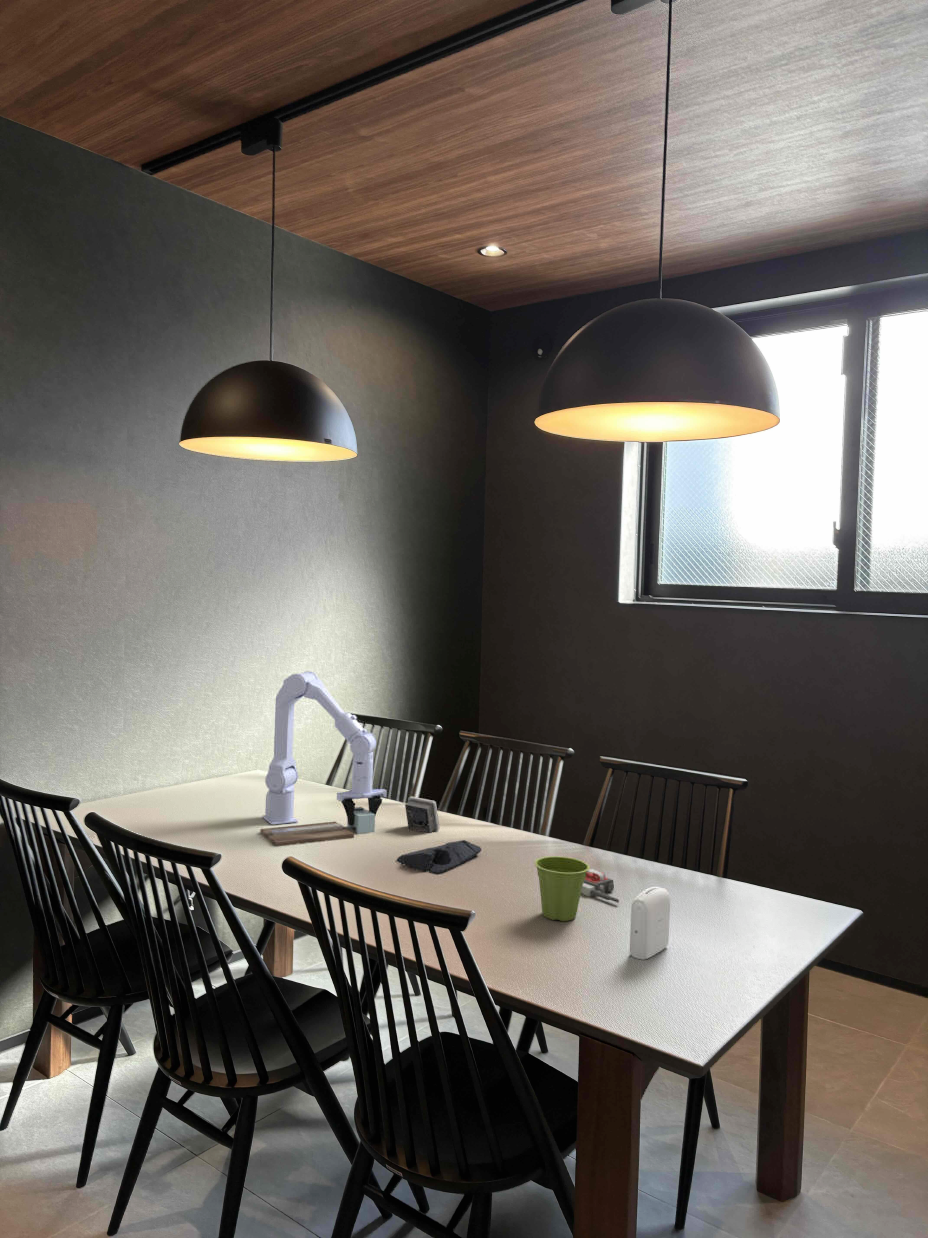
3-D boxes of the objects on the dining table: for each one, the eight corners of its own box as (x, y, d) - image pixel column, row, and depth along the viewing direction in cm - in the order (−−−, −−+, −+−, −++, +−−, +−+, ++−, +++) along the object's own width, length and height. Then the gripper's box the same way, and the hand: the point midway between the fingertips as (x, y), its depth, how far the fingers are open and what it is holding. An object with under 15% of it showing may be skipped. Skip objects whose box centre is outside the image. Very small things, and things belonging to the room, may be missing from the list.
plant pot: (573, 930, 186) (575, 876, 186) (522, 917, 193) (524, 865, 192) (596, 914, 196) (598, 863, 196) (547, 902, 203) (549, 852, 202)
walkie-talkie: (550, 884, 217) (615, 908, 201) (551, 865, 216) (615, 889, 201) (575, 877, 222) (640, 901, 207) (576, 859, 222) (640, 881, 207)
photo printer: (645, 962, 172) (648, 898, 171) (626, 956, 174) (628, 892, 174) (671, 947, 180) (674, 885, 179) (651, 941, 182) (654, 880, 182)
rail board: (260, 832, 250) (260, 825, 250) (335, 825, 261) (335, 818, 260) (275, 846, 238) (276, 838, 238) (353, 837, 248) (354, 830, 248)
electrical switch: (440, 831, 259) (439, 799, 258) (429, 836, 254) (429, 804, 253) (413, 825, 264) (412, 794, 263) (403, 830, 259) (402, 799, 258)
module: (347, 827, 259) (347, 807, 259) (363, 825, 262) (363, 806, 261) (358, 834, 252) (358, 814, 252) (374, 832, 255) (375, 812, 254)
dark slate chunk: (491, 858, 235) (491, 840, 235) (435, 877, 218) (436, 858, 218) (446, 846, 245) (446, 829, 245) (390, 863, 228) (390, 845, 228)
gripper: (343, 781, 249) (342, 829, 250) (391, 777, 256) (390, 824, 257) (334, 776, 255) (332, 823, 256) (381, 772, 263) (379, 818, 263)
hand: (360, 823), depth 257 cm, fingers open, 6 cm apart
